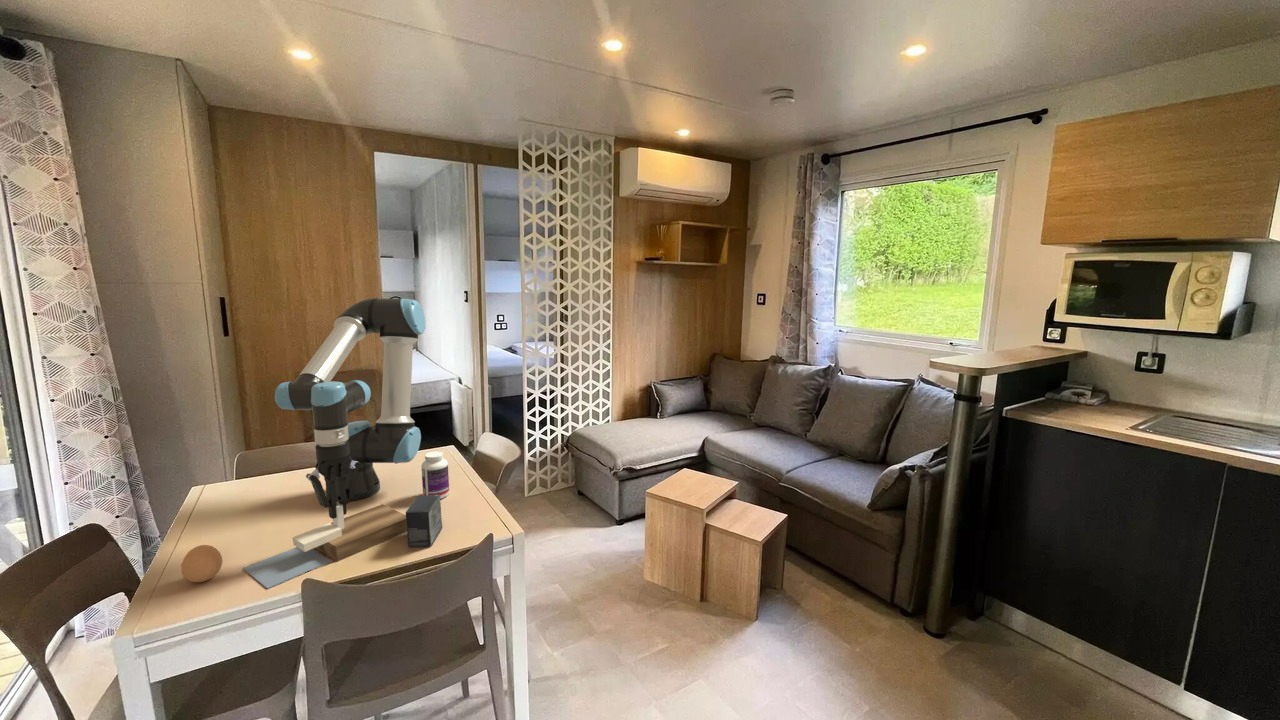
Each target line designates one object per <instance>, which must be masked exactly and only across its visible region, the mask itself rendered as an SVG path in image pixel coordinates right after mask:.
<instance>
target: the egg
mask: <svg viewBox="0 0 1280 720" xmlns="http://www.w3.org/2000/svg"><path fill="white" fill-rule="evenodd" d="M222 565H223V557H222V554H221V552H220V551H219V550H218V549H217V548H216V547H214V546H212V545H209V544H208V545H207V544H201V545H197V546H195V547H193V548H192V549H190V550H189V551H188V552H187V554H185V556H184V558H183V559H182V563H181V570H180V571H181V574H182V576H183V577H184V578H185V579H186V580H187V581H190V582H192V583H204V582H207V581H209V580H212V579H213V578H214V577H215V576H216V575H217V574H218V573H219V571H220V570H221V568H222Z"/></svg>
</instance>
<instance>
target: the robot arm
mask: <svg viewBox="0 0 1280 720" xmlns="http://www.w3.org/2000/svg"><path fill="white" fill-rule="evenodd" d="M422 307H423V306H422V305H421V304H420V303H419V302H418V301H417V300H415V299H411V298H377V297H376V298H375V297H373V298H372V297H371V298H365V299H362V300H360V301H357V302H356V303H354V304H352V305H351V306H349V307H348V308H346V309H344V310H343V311H342V312H341V313H340V314H339V315H338V316H337V318H336V319H335V321H334V323H333V329H332V331H330V334H329V335H328V336H327V337H326V339H324V341H323V343H322V344H321V345H320V346H319V348H318V349H317V350H316V352H315V353H314V354H313V356H312V357H311V359H309V361H308V363H306V365H305V367H303V369H302V370H301V372H300V373H299V375H298V376H297V377H296V378H295V380H294V381H284V382H281V383H279V384H278V385H277V387H276V389H275V392H274V401H275V403H276V405H277V407H278V408H280V409H282V410H290V411H312V419H313V433H314V443H315V444H316V445H315V447H314V448H315V457H316V458H315V459H316V465H315V467H314V468H315V469H314V470H313V471H312V472H311V473H307V474H306V475H305V478H306V479H307V480H308V481H310V484H311V485H312V487H313V490H314V493H315V497H316V499H317V500H318V503H319V506H322V507H323V508H328V516H329V518H330V519H332V522H333V525H335V526H337V527H338V528H340V529H344V528H345V527H344V518H345V517H344V516H345V515H346V514H347V512H348V511H347V505H348V504H349V502H353V501H358V500H363V499H366V498H368V497H371V496H373V495H375V494H377V493H378V492H379V491H380V490H381V481H380V479H379V476H378V475H377V474H378V473H377V472H376V470H375V468H374V464H405V463H409V462H411V461H413V460H414V458H415V457H416V455H417V454H418V451H419V450H420V445H421V441H422V440H421V439H422V434H421V430H420V428H419V427H417V426H415V422H416V421H415V420H414V419H413V418H412V417H411V396H412V376H413V375H412V373H413V371H412V370H413V353H414V352H413V348H414V344H415V343H417V341H418V340H419V335H422V334H424V333H425V329H426V316H425V313H424V309H423V308H422ZM369 334H379V339H380V340H381V342H383V344H384V345H383V367H382V388H381V389H382V390H381V409H380V410H381V411H380V412H381V413H380V417H379V418H378V419H377V420H376V421H375V426H372V424H371V422H370V421H368V420H358V421H352V422H348V413H351V412H354V411H355V410H357V409H359V408H360V409H361V408H362V407H363V406H364V405H366V404H367V403H368V402H369V401H370V398H371V396H372V395H371V394H372V393H371V388H370V386H369V385H368V384H367V383H366V382H365V381H362V380H359V379H358V380H357V379H356V380H349V381H347V382H341V381H332V380H333V378H334V377H335V376H336V374H337V372H338V371H339V370H340V369H341V366H342V365H343V363H344V362H345V360H346V359H347V358H348V356H349V355H350V354H351V352H352V350H353V349H354V347H355V346H356V345H357V343H358V342H359V341H362V340H363V339H364V338H365V337H366V336H368V335H369ZM320 475H321V476H322V477H323V478H324V481H325V489H324V487H323V485H322V484H323V483H322V482H321V480H320V478H321V476H320ZM325 491H326V492H325Z"/></svg>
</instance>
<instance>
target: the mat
mask: <svg viewBox="0 0 1280 720" xmlns="http://www.w3.org/2000/svg"><path fill="white" fill-rule="evenodd" d="M330 563H332V560H331V559H329V558H327V557H326V556H324V555H323V554H321V553H320V552H319V551H318V550H315V548H313V549H311V550H308V551H306V552H304V551H302V550H301V549H299V548H298V547H296V546H295V547H294V548H291V549H288V550H286V551H283V552H280V553H278V554H275V555H272V556H270V557H268V558H264V559H262V560H260V561H257V562H254V563H252V564H250V565H246V566H245V567H242V570H244V572H246V573H247V574H248V575H250V576H251V577H252V578H253V577H254V580H255V581H256V582H258V583H259V582H260V583H259V584H261V585H262V586H263V587H264V588H265V587H266V588H265V589H267V590H269V589H272V588H274V587H276V586H279V585H282V584H283V582H284V583H286V582H288V581H291V580H292V578H293V579H295V578H298V577H299V575H300V576H302V575H304V574H303V573H305V572H307V571H309V572H311V571H310V570H312V571H314V570H316V569H318V567H319V568H321V567H323V566H325V564H326V565H328V564H330ZM315 568H316V569H315ZM313 569H314V570H313ZM307 573H308V572H307ZM301 574H302V575H301ZM305 574H306V573H305ZM297 576H298V577H297ZM294 577H295V578H294ZM290 579H291V580H290ZM285 581H286V582H285ZM278 584H279V585H278Z"/></svg>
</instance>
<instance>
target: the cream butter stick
mask: <svg viewBox="0 0 1280 720" xmlns="http://www.w3.org/2000/svg"><path fill="white" fill-rule="evenodd" d="M331 523H332V522H328V523H325V524H322V525H320V526H317V527H315V528H313V529H311V530H308V531H305V532H302V533H300V534H298V535H295V536H293V537H292V544H293V546H295V548H296V547H298V548H299V549H301V550H302V551H304V552H306V551H308V550H311V549H315V548H316V547H318V546H320V545H322V544H325V543H327V542H329V541H332V540H334V539H337V538H339V537H341V536H342V530H341V529H340V528H338V527H337V526H335V525H333V524H331Z"/></svg>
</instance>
